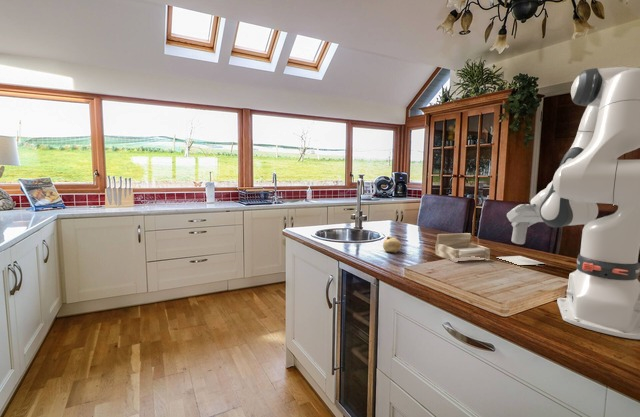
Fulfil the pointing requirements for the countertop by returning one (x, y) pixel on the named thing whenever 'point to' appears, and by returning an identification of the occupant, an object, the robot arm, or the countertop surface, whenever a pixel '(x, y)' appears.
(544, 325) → the countertop surface
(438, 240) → the birch rack
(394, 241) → the onion
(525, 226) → the beverage can
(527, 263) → the ceramic tile
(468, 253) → the light wood bar
